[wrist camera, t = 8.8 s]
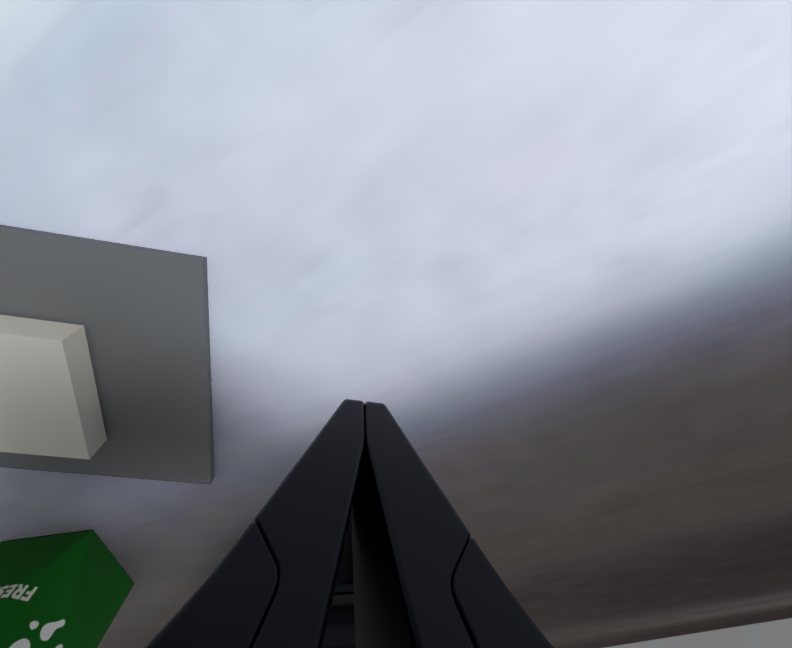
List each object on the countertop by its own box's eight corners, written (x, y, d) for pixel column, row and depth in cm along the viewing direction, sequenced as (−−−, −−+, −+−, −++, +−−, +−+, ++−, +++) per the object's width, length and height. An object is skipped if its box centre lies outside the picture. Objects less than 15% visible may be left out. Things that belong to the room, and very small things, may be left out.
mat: (214, 477, 26) (211, 484, 26) (-120, 448, 24) (-132, 456, 23) (206, 257, 19) (201, 260, 19) (-271, 182, 17) (-292, 183, 16)
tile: (89, 459, 22) (-69, 445, 21) (108, 437, 24) (-38, 423, 22) (61, 340, 18) (-131, 316, 17) (86, 323, 20) (-89, 300, 19)
